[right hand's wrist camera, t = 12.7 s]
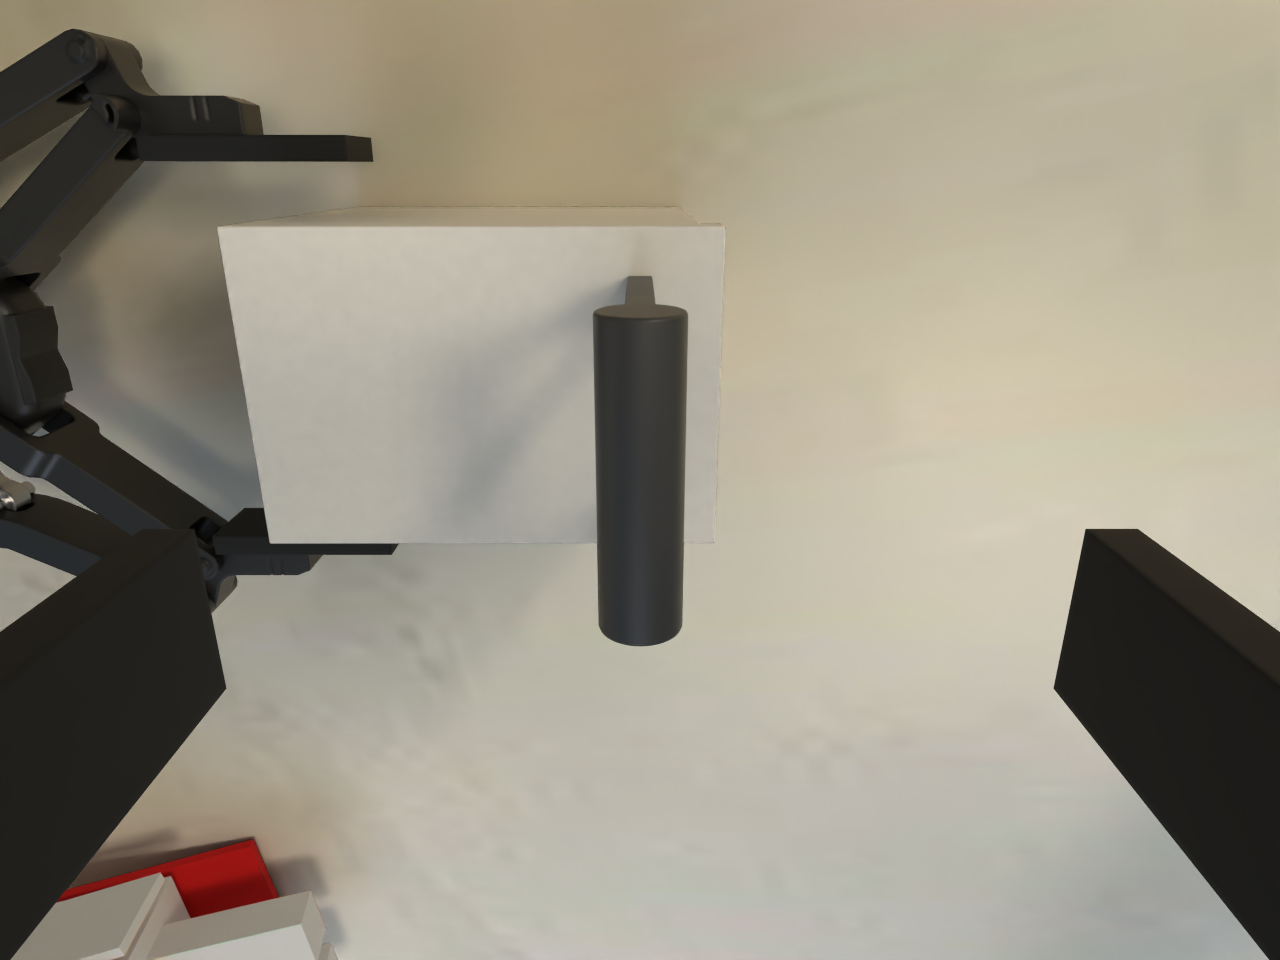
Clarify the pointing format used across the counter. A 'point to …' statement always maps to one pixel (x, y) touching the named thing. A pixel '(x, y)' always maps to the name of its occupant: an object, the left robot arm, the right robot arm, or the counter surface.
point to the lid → (489, 390)
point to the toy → (183, 915)
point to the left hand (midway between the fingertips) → (383, 354)
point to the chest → (493, 215)
